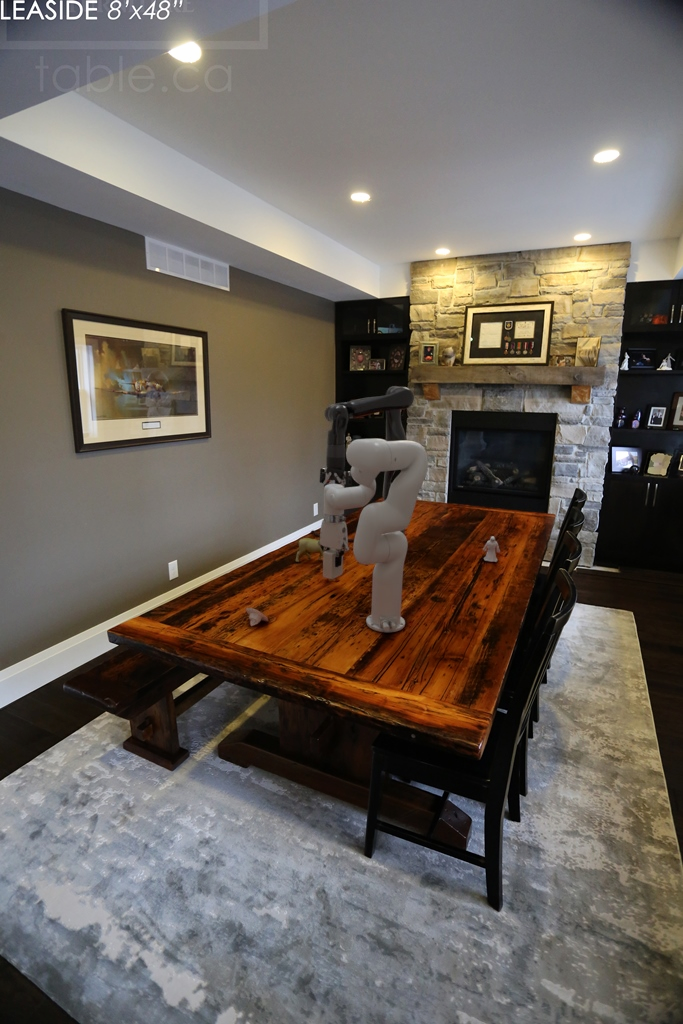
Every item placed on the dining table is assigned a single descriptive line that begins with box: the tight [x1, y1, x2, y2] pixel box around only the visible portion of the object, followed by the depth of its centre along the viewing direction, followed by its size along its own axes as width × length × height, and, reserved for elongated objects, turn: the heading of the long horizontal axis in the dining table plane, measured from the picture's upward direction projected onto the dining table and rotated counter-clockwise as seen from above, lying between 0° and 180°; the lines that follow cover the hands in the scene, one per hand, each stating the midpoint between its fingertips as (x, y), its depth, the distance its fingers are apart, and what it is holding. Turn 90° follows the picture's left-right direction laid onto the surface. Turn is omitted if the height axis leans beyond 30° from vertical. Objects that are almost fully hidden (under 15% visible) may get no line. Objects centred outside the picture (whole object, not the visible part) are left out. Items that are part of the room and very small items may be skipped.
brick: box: [322, 548, 344, 580], centre depth 188 cm, size 4×7×10 cm, turn 144°
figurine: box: [482, 535, 501, 563], centre depth 223 cm, size 8×8×12 cm
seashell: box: [245, 607, 269, 627], centre depth 160 cm, size 8×5×8 cm
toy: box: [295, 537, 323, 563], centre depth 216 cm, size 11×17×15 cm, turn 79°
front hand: (332, 564), depth 188 cm, fingers closed on brick, 4 cm apart
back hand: (335, 495), depth 204 cm, fingers open, 8 cm apart
